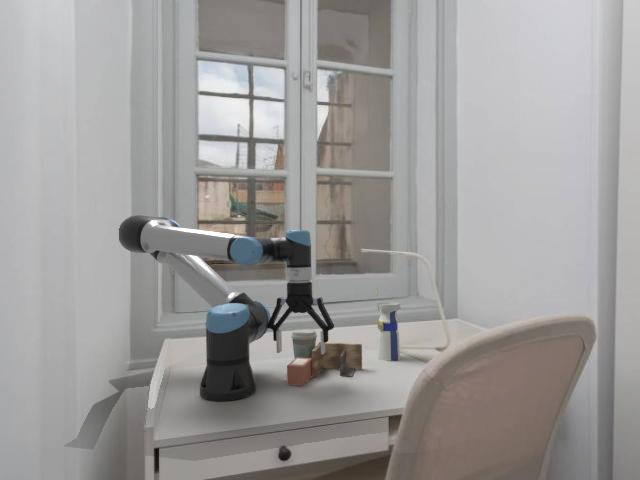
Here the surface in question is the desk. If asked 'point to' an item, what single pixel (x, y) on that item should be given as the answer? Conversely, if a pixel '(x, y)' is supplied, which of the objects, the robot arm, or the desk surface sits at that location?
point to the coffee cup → (303, 342)
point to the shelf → (337, 358)
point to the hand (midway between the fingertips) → (300, 352)
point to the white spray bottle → (388, 331)
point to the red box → (299, 371)
